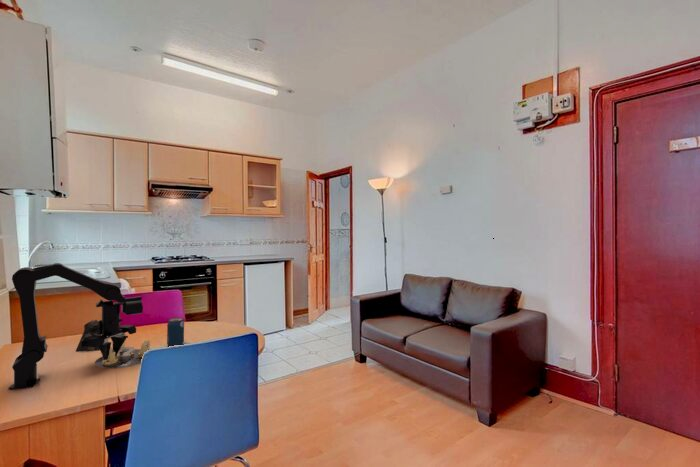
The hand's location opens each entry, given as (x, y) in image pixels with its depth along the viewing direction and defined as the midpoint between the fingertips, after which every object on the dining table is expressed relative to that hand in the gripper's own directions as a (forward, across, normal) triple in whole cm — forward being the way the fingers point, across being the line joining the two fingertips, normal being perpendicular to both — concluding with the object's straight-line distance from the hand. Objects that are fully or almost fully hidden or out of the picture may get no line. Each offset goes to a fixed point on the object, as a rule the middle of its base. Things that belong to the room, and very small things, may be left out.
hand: (110, 357), depth 134 cm
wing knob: (+3, 0, 0) cm, 3 cm away
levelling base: (+4, -7, 0) cm, 8 cm away
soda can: (+5, -29, +5) cm, 30 cm away
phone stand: (+4, -15, -26) cm, 30 cm away
